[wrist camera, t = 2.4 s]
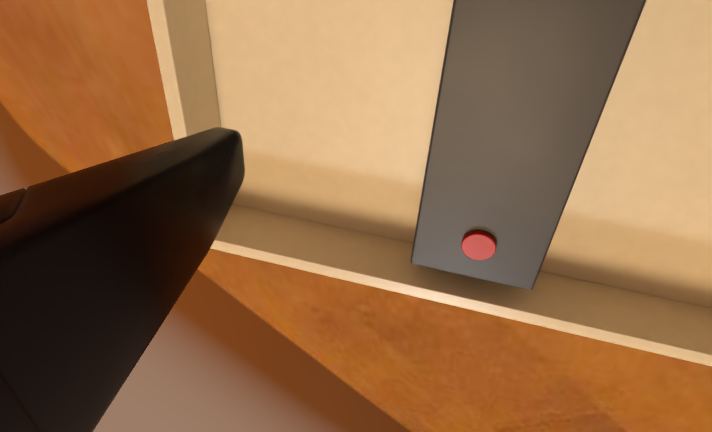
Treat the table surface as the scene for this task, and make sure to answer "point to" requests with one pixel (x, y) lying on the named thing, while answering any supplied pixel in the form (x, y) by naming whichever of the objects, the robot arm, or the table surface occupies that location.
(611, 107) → the tray
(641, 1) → the remote
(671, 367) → the table surface
